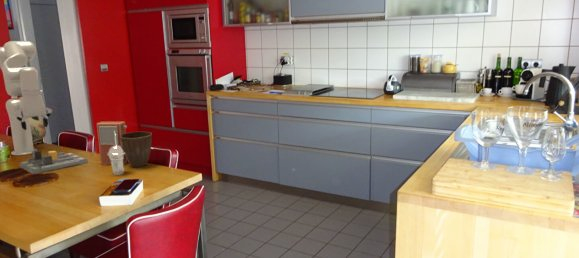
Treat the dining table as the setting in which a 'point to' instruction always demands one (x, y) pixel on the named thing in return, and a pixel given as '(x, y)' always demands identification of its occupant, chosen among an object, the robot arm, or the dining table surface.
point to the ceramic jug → (37, 129)
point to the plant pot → (137, 147)
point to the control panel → (109, 138)
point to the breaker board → (50, 162)
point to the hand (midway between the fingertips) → (35, 127)
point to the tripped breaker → (53, 155)
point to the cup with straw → (117, 157)
